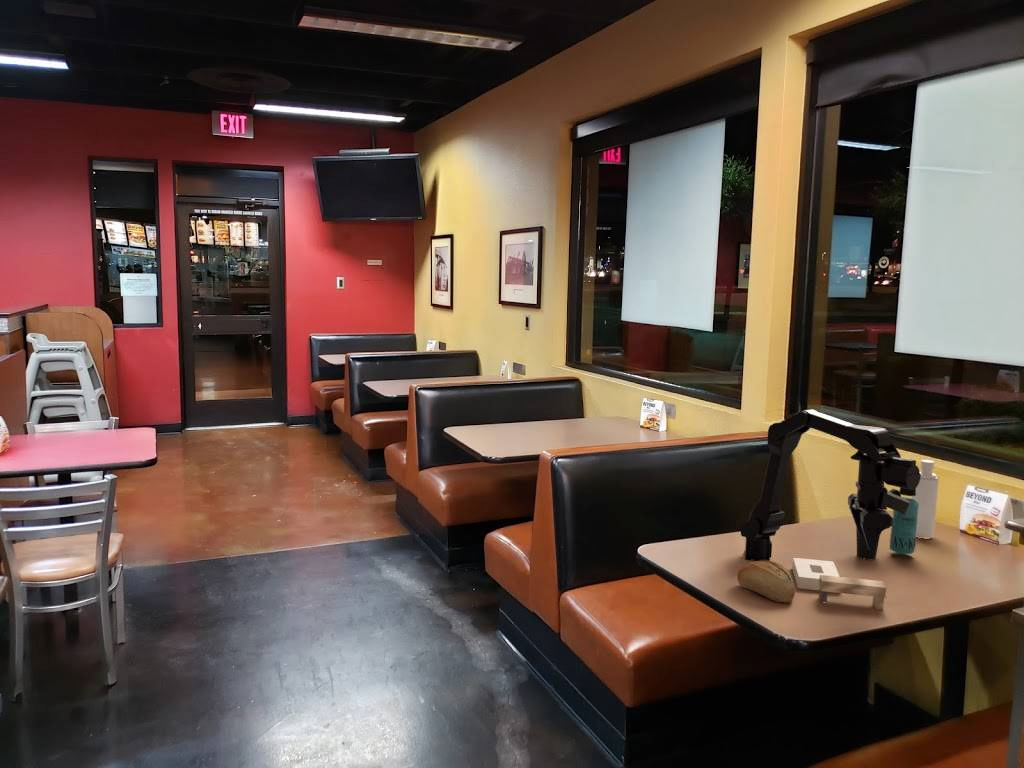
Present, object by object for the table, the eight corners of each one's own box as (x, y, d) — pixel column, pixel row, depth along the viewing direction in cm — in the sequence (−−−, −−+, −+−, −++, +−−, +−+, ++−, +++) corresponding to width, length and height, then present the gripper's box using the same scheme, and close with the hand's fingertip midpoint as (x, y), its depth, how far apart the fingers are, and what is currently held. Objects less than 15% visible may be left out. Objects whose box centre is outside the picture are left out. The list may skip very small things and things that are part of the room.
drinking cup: (879, 553, 216) (885, 485, 213) (883, 562, 209) (888, 492, 206) (850, 550, 218) (855, 482, 216) (852, 559, 211) (858, 489, 208)
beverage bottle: (883, 551, 218) (889, 483, 215) (906, 551, 218) (911, 483, 216) (897, 559, 211) (903, 489, 209) (919, 559, 212) (926, 489, 209)
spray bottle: (922, 540, 228) (929, 459, 225) (903, 533, 234) (910, 454, 231) (938, 538, 231) (945, 457, 227) (919, 531, 237) (926, 452, 234)
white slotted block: (798, 588, 190) (798, 576, 189) (792, 568, 203) (793, 557, 203) (841, 592, 187) (841, 581, 187) (832, 572, 201) (833, 561, 200)
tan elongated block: (820, 602, 181) (822, 580, 180) (818, 596, 185) (819, 574, 184) (884, 610, 178) (886, 587, 177) (880, 603, 181) (882, 581, 181)
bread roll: (750, 580, 195) (752, 550, 194) (804, 599, 183) (806, 567, 182) (728, 588, 189) (729, 558, 188) (781, 609, 177) (783, 576, 176)
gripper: (919, 492, 170) (914, 560, 172) (897, 474, 188) (893, 535, 190) (865, 489, 172) (861, 555, 174) (849, 471, 190) (845, 531, 192)
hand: (867, 544), depth 182 cm, fingers open, 9 cm apart
